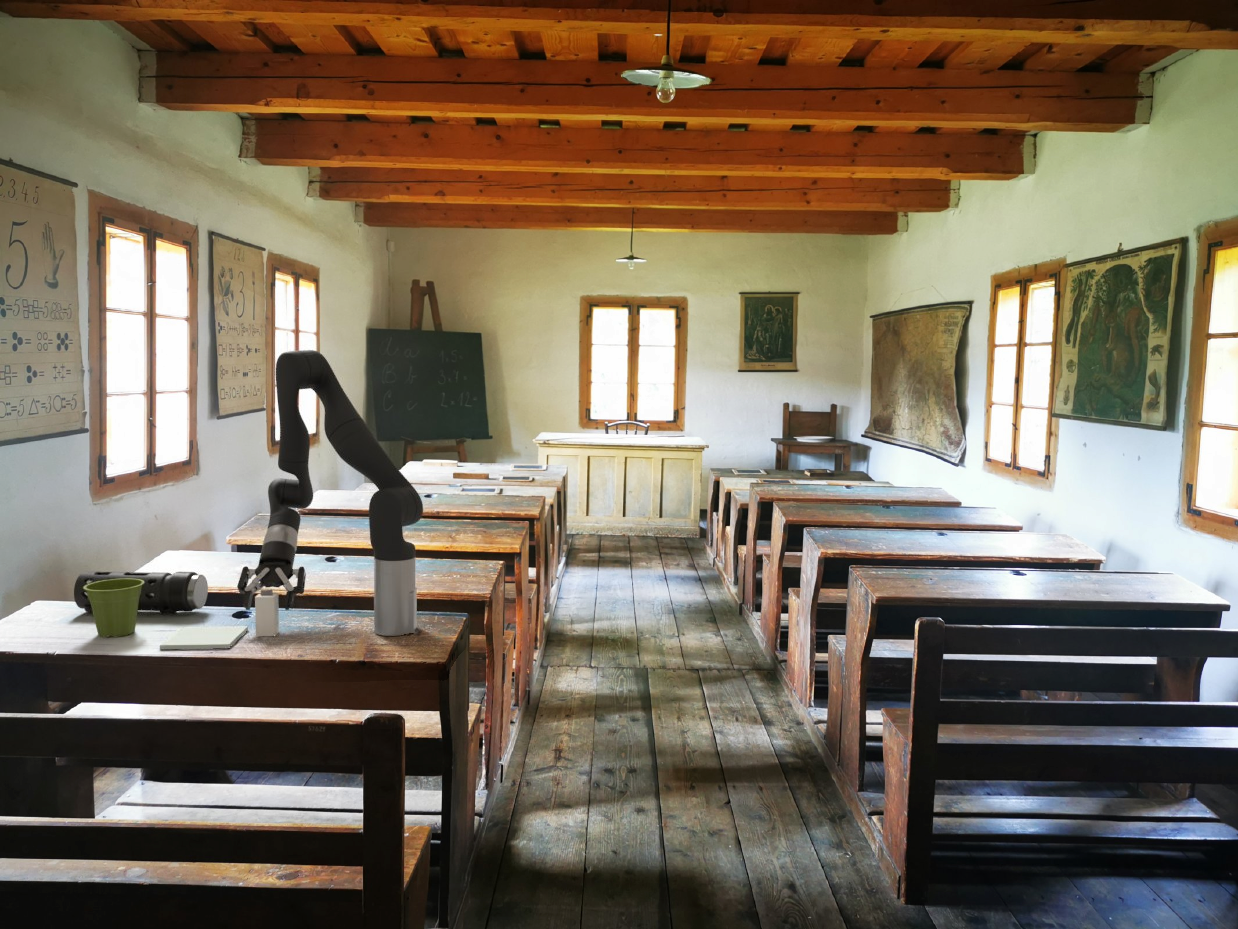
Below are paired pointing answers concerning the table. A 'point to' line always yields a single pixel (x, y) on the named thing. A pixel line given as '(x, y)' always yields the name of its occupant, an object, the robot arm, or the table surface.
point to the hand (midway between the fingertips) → (266, 608)
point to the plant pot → (114, 605)
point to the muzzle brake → (153, 590)
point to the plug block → (266, 613)
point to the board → (204, 637)
